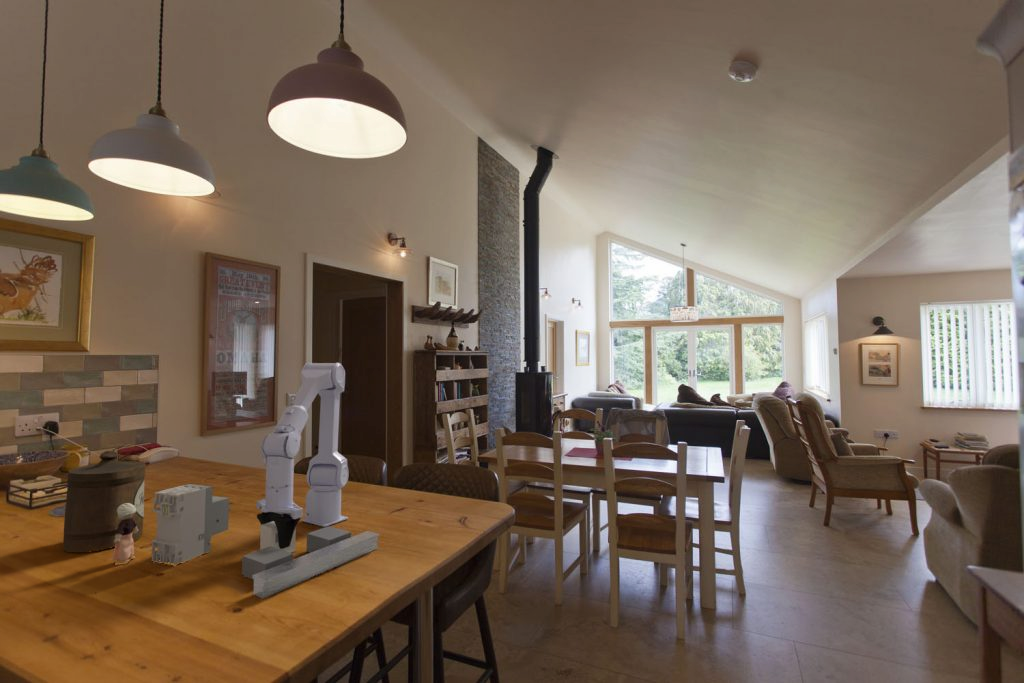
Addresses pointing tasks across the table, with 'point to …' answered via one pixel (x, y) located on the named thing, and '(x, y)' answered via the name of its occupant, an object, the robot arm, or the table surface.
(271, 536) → the block
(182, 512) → the circuit breaker
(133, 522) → the grandmother figurine
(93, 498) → the wooden container
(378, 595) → the table surface
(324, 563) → the din rail
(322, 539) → the mounted modules
